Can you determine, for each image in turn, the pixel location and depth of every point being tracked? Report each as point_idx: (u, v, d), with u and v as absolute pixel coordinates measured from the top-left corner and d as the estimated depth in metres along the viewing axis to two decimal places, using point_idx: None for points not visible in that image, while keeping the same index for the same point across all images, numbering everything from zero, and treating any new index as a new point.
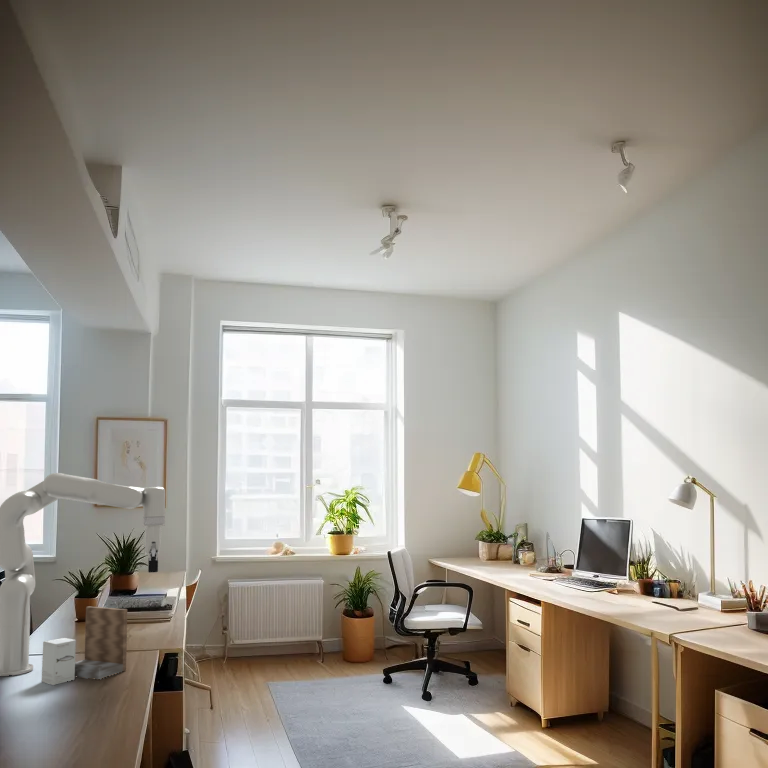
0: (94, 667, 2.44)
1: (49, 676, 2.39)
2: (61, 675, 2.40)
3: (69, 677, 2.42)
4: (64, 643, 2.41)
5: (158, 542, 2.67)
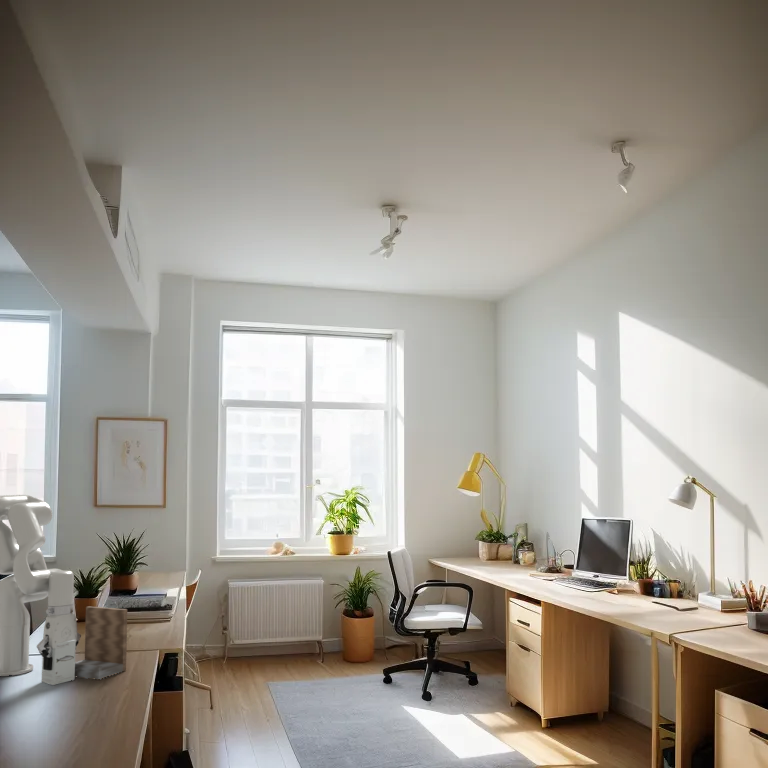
0: (94, 667, 2.44)
1: (49, 676, 2.39)
2: (61, 675, 2.40)
3: (69, 677, 2.42)
4: (64, 643, 2.41)
5: None
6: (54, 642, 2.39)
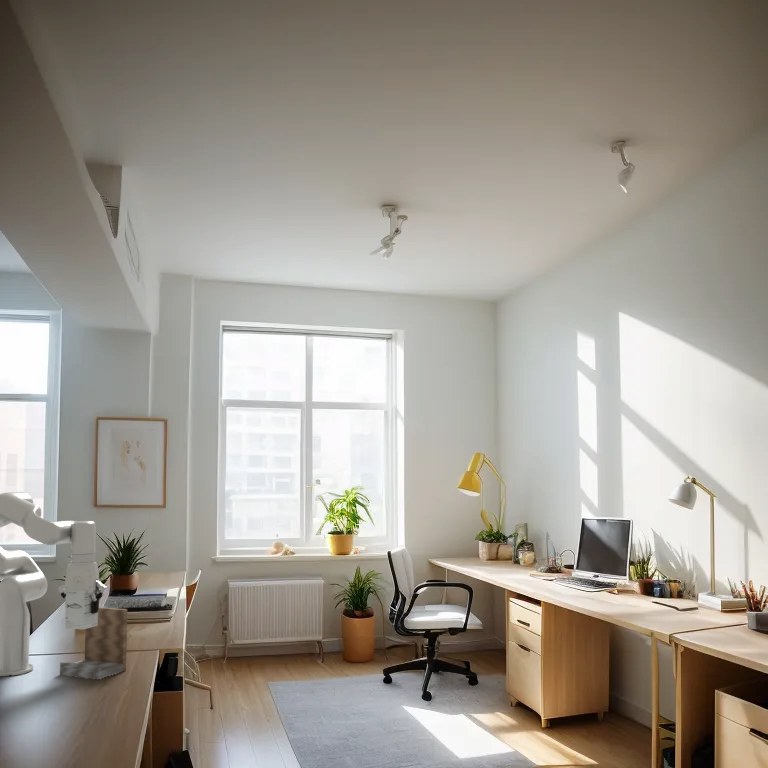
0: (94, 667, 2.44)
1: None
2: (70, 621, 2.47)
3: (78, 625, 2.46)
4: (73, 591, 2.48)
5: (98, 579, 2.52)
6: (65, 587, 2.49)
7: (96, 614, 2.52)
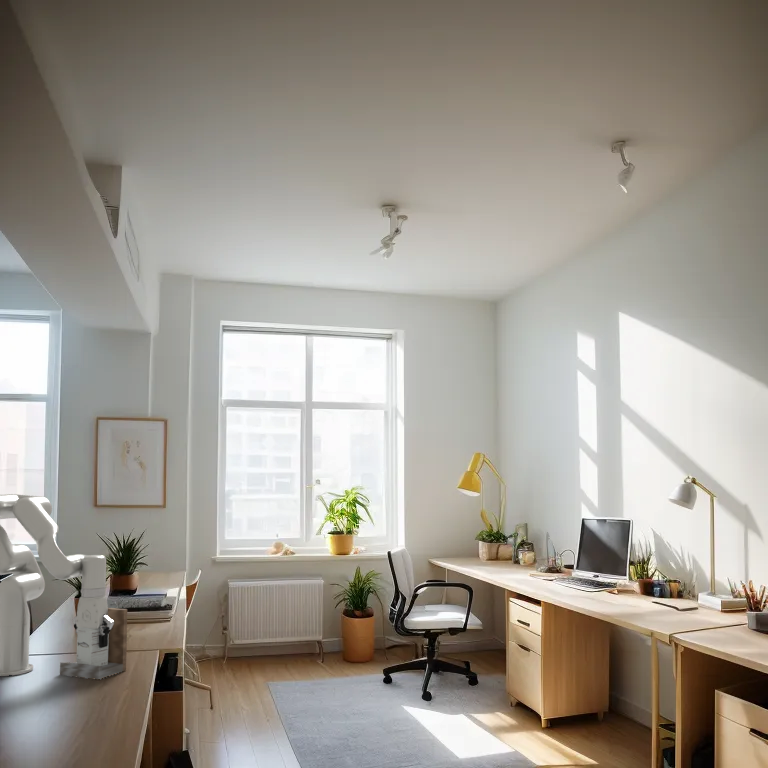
0: (94, 667, 2.44)
1: None
2: (80, 659, 2.49)
3: None
4: (82, 629, 2.50)
5: (107, 614, 2.53)
6: (76, 621, 2.53)
7: (106, 653, 2.52)
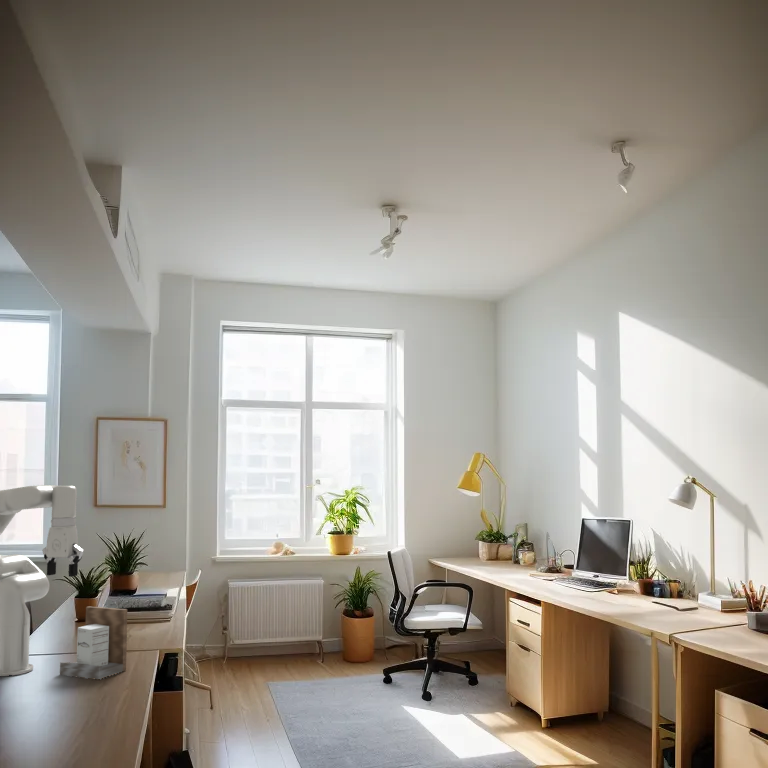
0: (94, 667, 2.44)
1: None
2: (80, 659, 2.49)
3: None
4: (83, 629, 2.50)
5: (77, 544, 2.52)
6: (46, 550, 2.52)
7: (106, 653, 2.52)
